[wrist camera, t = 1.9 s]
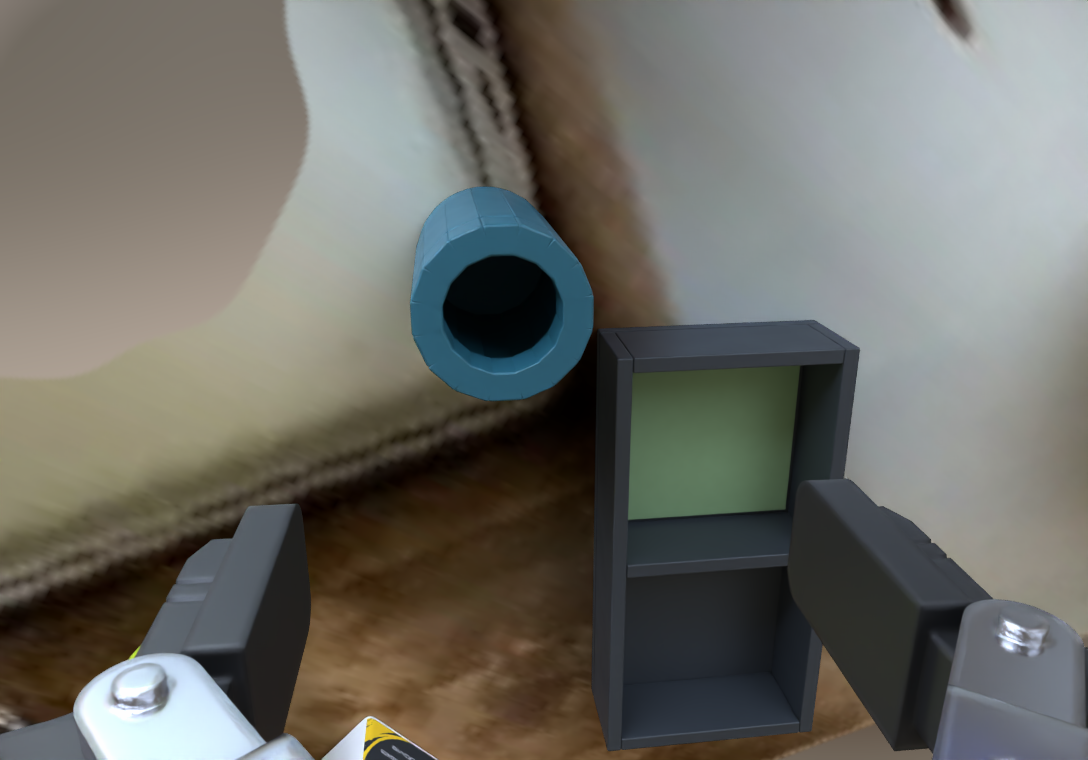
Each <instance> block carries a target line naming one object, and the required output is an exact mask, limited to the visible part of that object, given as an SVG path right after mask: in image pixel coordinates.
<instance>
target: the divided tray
mask: <svg viewBox="0 0 1088 760" xmlns="http://www.w3.org/2000/svg"><path fill="white" fill-rule="evenodd" d="M859 353H860V348H859V347H857V346H855V345H854V344H852V343H851V342H849V341H847V340H846V339H844V338H842V337H841V336H839V335H838V334H836V333H834V332H833V331H831V330H830V329H828V328H826V327H825V326H823V325H822V324H820V323H818V322H817V321H815V320H804V321H779V322H754V323H729V324H704V325H679V326H654V327H630V328H605V329H598V330H597V383H596V446H595V509H594V571H593V634H592V692H593V696H594V700H595V704H596V708H597V711H598V715H599V719H600V723H601V727H602V731H603V735H604V739H605V742H606V746H607V750H608V751H616V750H621V749H622V750H626V749H636V748H646V747H657V746H667V745H677V744H687V743H697V742H707V741H718V740H728V739H738V738H748V737H758V736H768V735H778V734H789V733H798V732H809V731H811V730H812V723H813V715H814V707H815V699H816V691H817V683H818V676H819V668H820V660H821V652H822V642H821V641H820V639H819V638H818V636H817V635H816V633H815V632H814V630H813V629H812V627H811V626H810V624H809V623H808V621H807V620H806V618H805V617H804V615H803V614H802V612H801V611H800V609H799V608H798V606H797V605H796V603H795V601H794V599H793V597H792V594H791V591H790V587H789V582H788V572H787V566H788V556H789V547H790V539H791V531H792V522H793V514H794V505H795V497H796V492H797V489H798V486H799V485H800V483H801V482H802V481H809V480H830V479H844V471H845V463H846V455H847V447H848V439H849V431H850V424H851V416H852V408H853V400H854V392H855V384H856V376H857V368H858V361H859Z"/></svg>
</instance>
